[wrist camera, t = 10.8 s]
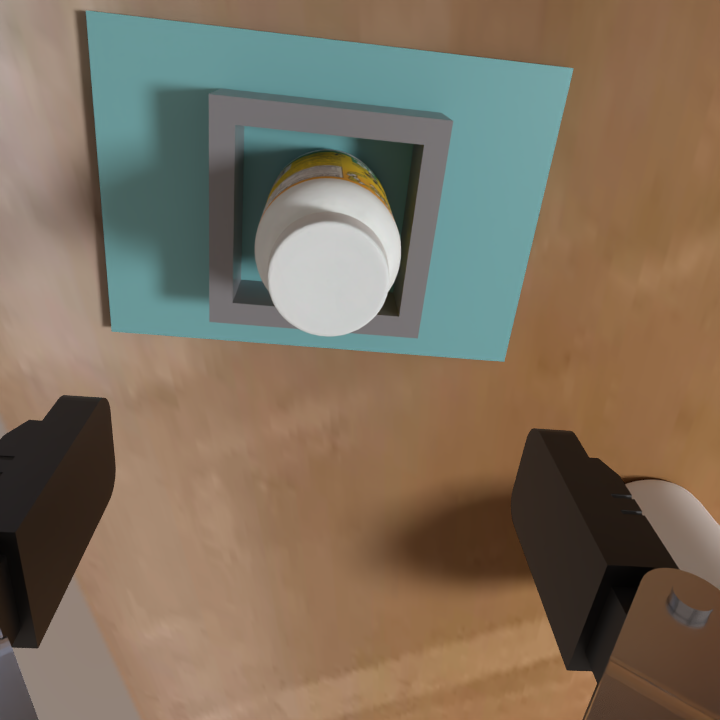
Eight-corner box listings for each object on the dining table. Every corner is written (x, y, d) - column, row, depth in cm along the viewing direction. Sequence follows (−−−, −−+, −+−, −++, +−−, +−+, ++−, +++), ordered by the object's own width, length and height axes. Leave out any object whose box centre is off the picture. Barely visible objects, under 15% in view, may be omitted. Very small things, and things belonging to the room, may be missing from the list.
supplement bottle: (254, 163, 28) (221, 219, 19) (372, 134, 27) (392, 177, 19) (288, 276, 30) (272, 370, 22) (397, 250, 30) (424, 335, 21)
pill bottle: (721, 530, 40) (918, 778, 26) (609, 590, 42) (739, 849, 28) (666, 451, 37) (857, 687, 23) (548, 520, 39) (662, 773, 25)
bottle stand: (568, 67, 27) (600, 71, 24) (501, 356, 33) (519, 390, 30) (90, 11, 25) (55, 6, 22) (115, 326, 32) (91, 358, 28)
